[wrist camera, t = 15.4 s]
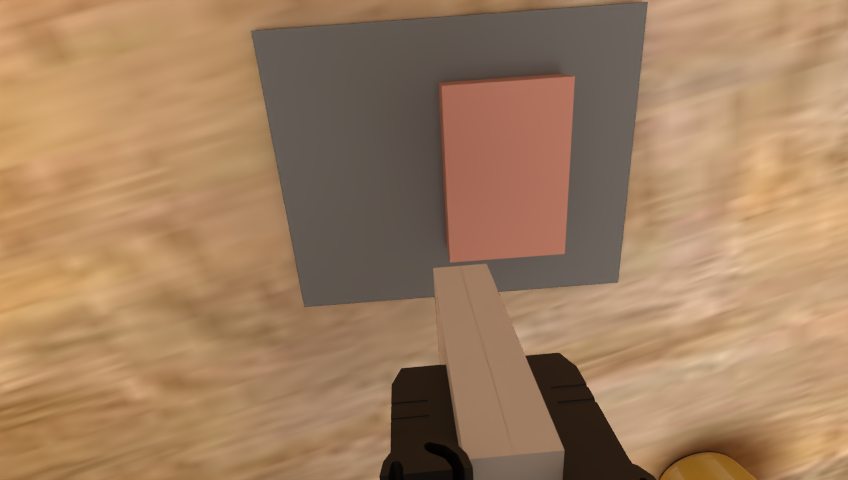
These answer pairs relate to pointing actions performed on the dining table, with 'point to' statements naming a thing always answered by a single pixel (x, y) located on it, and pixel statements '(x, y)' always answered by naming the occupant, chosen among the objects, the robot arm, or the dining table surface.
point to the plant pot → (706, 468)
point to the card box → (506, 165)
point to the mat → (438, 142)
